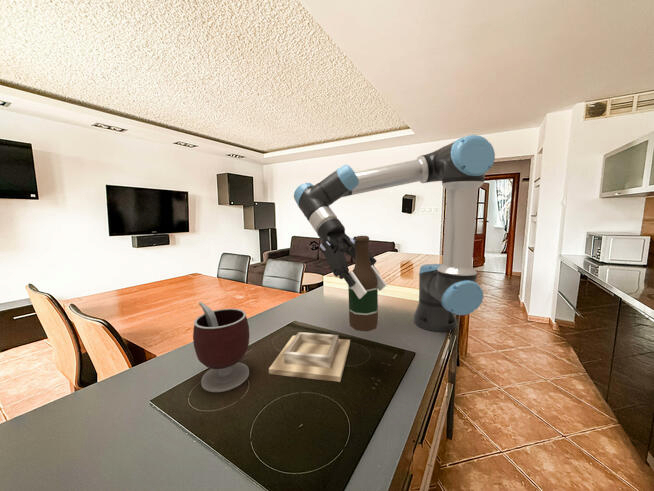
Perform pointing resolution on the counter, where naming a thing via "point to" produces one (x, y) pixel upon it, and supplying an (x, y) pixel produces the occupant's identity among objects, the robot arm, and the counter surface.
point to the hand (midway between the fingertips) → (373, 291)
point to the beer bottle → (365, 308)
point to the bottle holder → (312, 357)
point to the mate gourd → (221, 347)
